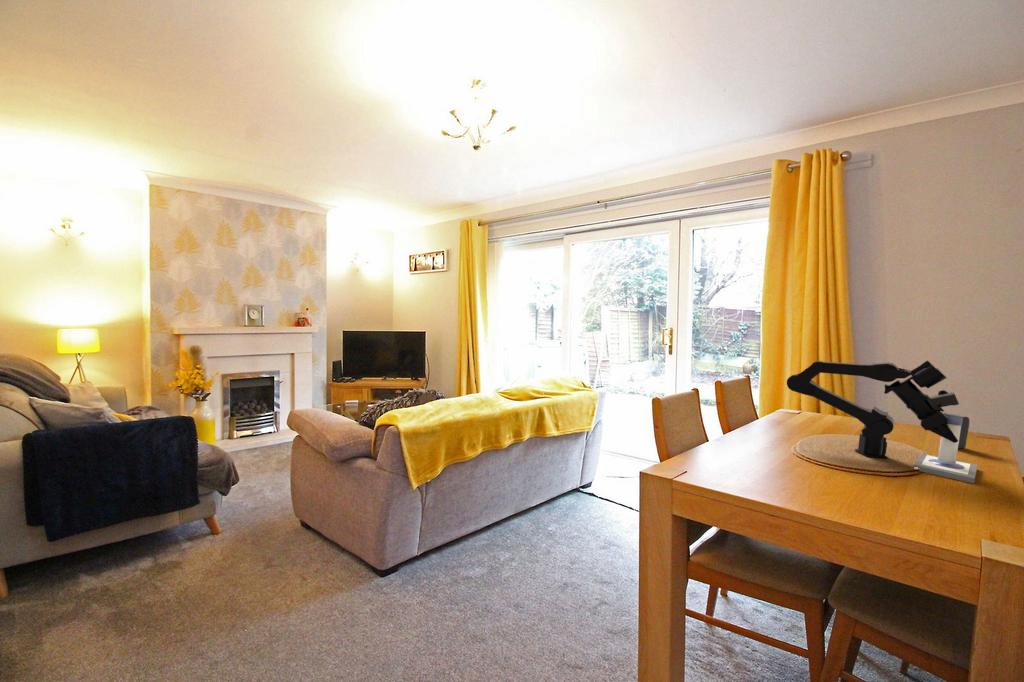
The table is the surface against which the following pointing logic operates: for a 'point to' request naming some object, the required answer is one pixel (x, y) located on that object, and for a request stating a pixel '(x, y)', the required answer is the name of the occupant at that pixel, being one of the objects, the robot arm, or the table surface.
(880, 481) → the table surface
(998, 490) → the table surface
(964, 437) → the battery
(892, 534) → the table surface
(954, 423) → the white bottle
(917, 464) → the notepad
